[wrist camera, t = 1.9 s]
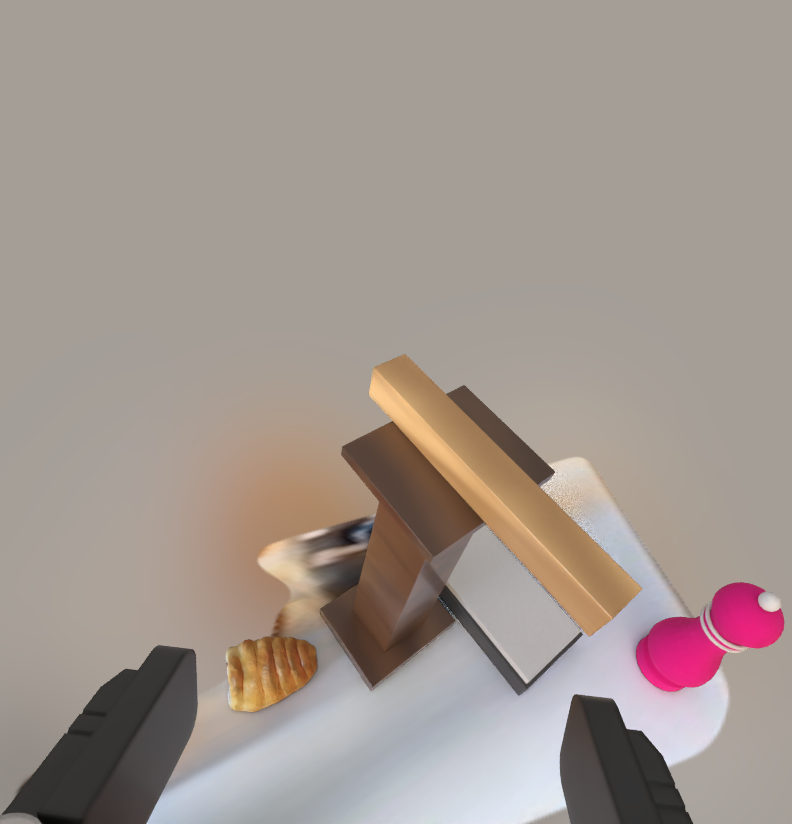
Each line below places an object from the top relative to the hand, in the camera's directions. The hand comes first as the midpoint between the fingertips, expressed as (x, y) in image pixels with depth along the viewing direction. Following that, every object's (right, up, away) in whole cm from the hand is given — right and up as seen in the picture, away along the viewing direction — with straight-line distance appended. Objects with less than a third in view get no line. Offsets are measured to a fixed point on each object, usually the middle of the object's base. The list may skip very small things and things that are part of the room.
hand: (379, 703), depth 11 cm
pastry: (-13, -22, +45) cm, 52 cm away
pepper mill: (+32, -24, +53) cm, 66 cm away
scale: (+12, -17, +54) cm, 58 cm away
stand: (-1, -18, +51) cm, 54 cm away
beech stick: (+6, +1, +26) cm, 26 cm away
